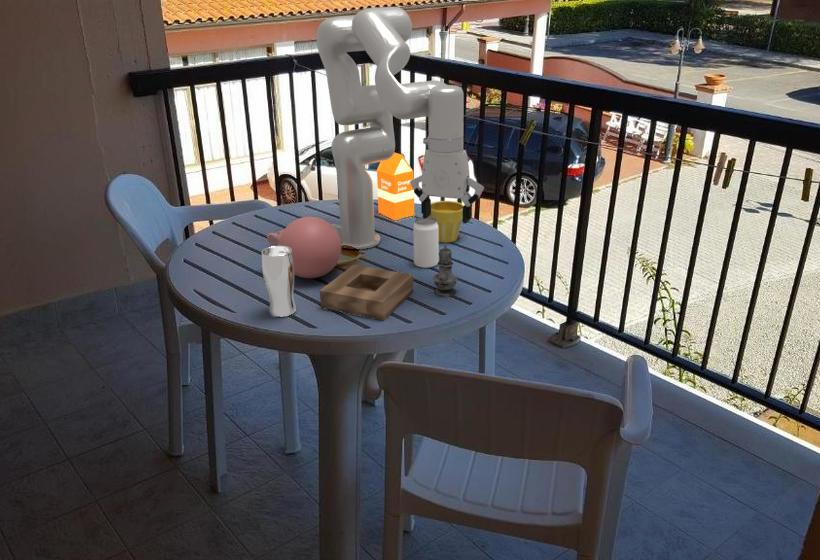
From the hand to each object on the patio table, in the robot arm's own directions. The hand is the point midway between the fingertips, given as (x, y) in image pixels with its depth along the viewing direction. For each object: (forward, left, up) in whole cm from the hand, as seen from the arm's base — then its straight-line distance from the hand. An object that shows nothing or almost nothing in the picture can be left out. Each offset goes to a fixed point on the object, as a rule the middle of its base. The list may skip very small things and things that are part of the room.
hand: (446, 219), depth 156 cm
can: (-11, +14, -19) cm, 26 cm away
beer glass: (-30, -24, -19) cm, 43 cm away
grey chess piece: (0, 0, -19) cm, 19 cm away
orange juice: (-35, +46, -19) cm, 61 cm away
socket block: (-15, -11, -18) cm, 26 cm away
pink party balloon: (-37, -4, -19) cm, 42 cm away
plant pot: (-13, +33, -19) cm, 40 cm away
